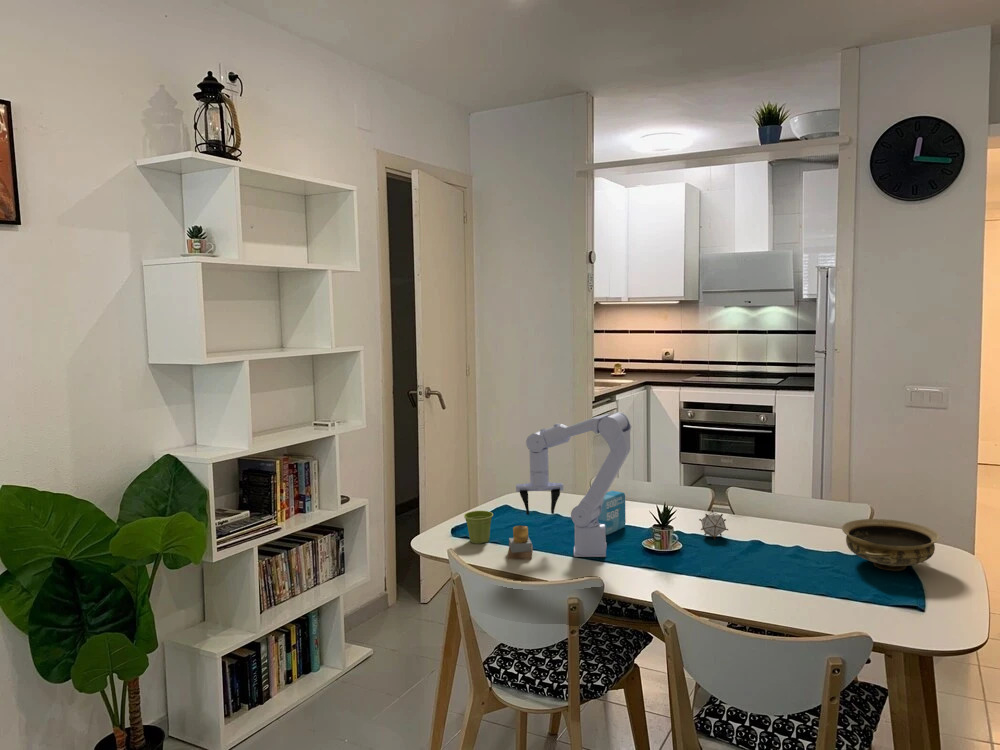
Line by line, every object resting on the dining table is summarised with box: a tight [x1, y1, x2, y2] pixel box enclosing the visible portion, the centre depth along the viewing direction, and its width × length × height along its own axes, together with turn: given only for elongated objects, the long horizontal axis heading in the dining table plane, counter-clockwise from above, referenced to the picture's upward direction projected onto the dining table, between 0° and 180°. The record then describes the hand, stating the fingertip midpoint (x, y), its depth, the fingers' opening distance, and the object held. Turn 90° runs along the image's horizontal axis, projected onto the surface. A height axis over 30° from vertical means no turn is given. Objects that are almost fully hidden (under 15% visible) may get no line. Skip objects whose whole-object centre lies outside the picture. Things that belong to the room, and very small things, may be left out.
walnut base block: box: [507, 544, 534, 560], centre depth 228 cm, size 7×7×2 cm
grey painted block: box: [508, 536, 533, 553], centre depth 227 cm, size 6×6×2 cm
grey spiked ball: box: [698, 509, 729, 540], centre depth 238 cm, size 9×8×10 cm
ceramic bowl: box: [841, 518, 940, 572], centre depth 209 cm, size 30×24×10 cm
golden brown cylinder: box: [512, 525, 529, 543], centre depth 227 cm, size 4×4×4 cm
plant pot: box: [463, 510, 494, 545], centre depth 241 cm, size 9×9×9 cm
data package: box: [598, 490, 626, 536], centre depth 248 cm, size 12×4×12 cm, turn 138°
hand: (540, 513), depth 234 cm, fingers open, 7 cm apart
